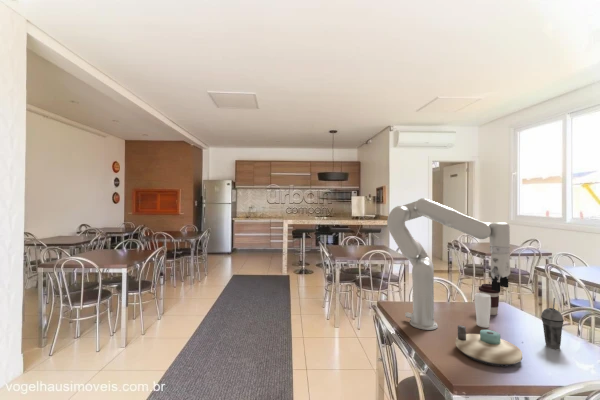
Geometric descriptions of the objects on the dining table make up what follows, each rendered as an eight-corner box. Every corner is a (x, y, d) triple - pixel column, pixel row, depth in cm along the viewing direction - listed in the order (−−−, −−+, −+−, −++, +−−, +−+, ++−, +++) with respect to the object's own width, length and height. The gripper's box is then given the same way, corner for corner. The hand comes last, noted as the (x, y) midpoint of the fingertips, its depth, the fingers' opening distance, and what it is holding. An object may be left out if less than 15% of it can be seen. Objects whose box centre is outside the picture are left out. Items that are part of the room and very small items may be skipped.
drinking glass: (486, 323, 149) (486, 293, 149) (494, 329, 142) (493, 297, 142) (472, 323, 149) (471, 292, 150) (479, 328, 143) (478, 296, 143)
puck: (478, 340, 122) (478, 333, 122) (482, 335, 127) (481, 328, 127) (498, 346, 117) (498, 338, 117) (501, 340, 123) (501, 332, 123)
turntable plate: (448, 350, 117) (448, 333, 117) (463, 332, 133) (463, 318, 133) (518, 371, 102) (518, 351, 102) (525, 348, 119) (524, 331, 119)
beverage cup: (536, 343, 127) (535, 295, 128) (552, 342, 128) (551, 295, 128) (552, 351, 120) (551, 300, 120) (569, 350, 121) (568, 300, 121)
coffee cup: (504, 316, 158) (504, 287, 159) (485, 316, 159) (485, 287, 159) (493, 309, 168) (492, 282, 169) (475, 309, 168) (474, 282, 169)
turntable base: (456, 355, 117) (456, 351, 117) (467, 339, 130) (467, 336, 130) (512, 371, 105) (512, 367, 105) (518, 353, 118) (518, 349, 119)
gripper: (502, 253, 126) (502, 294, 125) (516, 249, 137) (516, 287, 136) (482, 250, 132) (483, 290, 131) (497, 247, 142) (497, 284, 142)
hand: (500, 288), depth 134 cm, fingers open, 9 cm apart
